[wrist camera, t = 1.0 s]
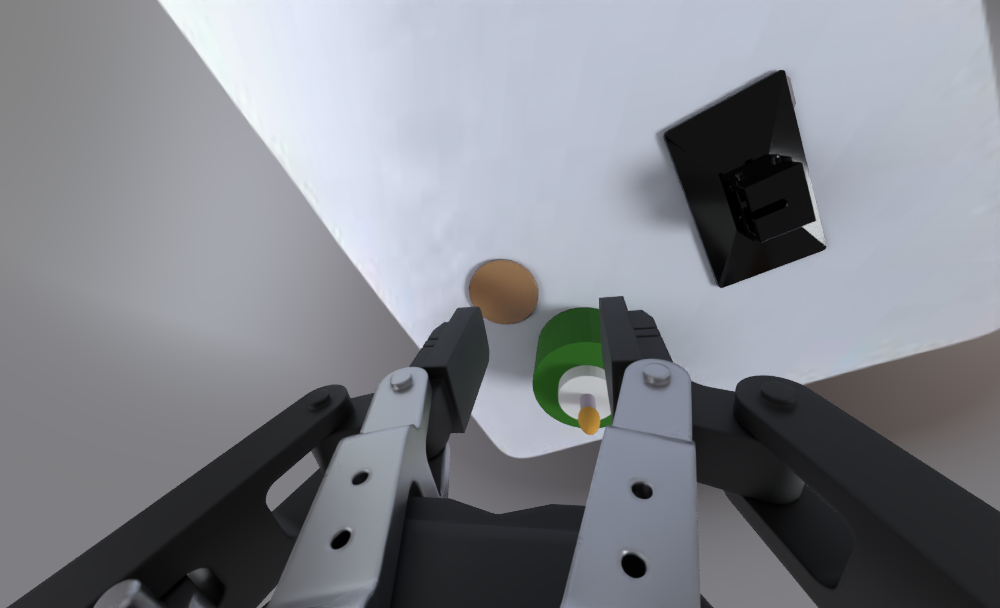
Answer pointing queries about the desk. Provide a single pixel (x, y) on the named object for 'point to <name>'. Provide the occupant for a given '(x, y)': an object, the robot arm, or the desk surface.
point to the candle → (573, 371)
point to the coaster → (504, 291)
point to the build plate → (748, 181)
